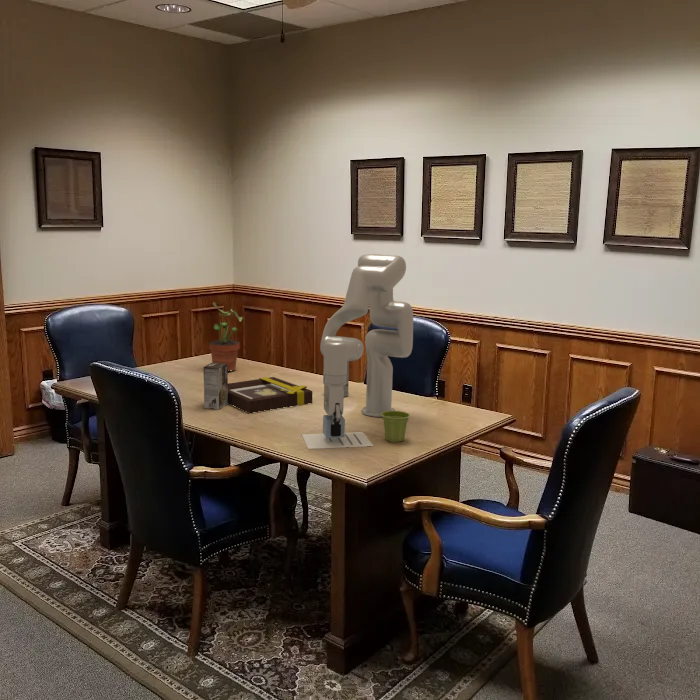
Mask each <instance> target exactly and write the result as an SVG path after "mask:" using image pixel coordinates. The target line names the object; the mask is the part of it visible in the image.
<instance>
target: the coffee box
mask: <svg viewBox="0 0 700 700" xmlns="http://www.w3.org/2000/svg"><path fill="white" fill-rule="evenodd" d="M228 373H229V371H228V370H227V363H218V362H210V363H208V364H206V365H204V366H203V409H205V408H214V409H213V410H217V409H219V410H221V409H222V408H224V407H225V406H227V405H228V404H227V403H228V383H229V382H228V381H229V380H228V379H229V378H228V377H229V375H228ZM226 404H227V405H226ZM224 405H225V406H224ZM223 406H224V407H223ZM221 407H222V408H221ZM220 408H221V409H220Z"/></svg>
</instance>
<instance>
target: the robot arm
mask: <svg viewBox="0 0 700 700" xmlns="http://www.w3.org/2000/svg"><path fill="white" fill-rule="evenodd" d="M406 269H407V262H406V260H405V259H404V258H403V256H401V255H392V254H391V255H390V254H378V253H377V254H376V253H375V254H374V253H368V254H363V255H361V256H359V258H358V259H357V266H356V267H355V268H354V269H352V271H351V274H350V277H349V278H350V279H349V283H348V287H347V290H346V293H345V294H346V295H345V299H344V303H343V305H342V306H341V307H340V308H339V309H338V310H337V311H336V312H334V314H332V316H331V317H330V318H329V319H328V321H327V322H326V323H325V326H324V329H323V331H322V336H321V339H320V345H319V346H320V347H319V349H320V353H321V355H322V356H323V374H322V375H323V377H322V379H323V382H322V383H323V385H324V384H325V393H324V392H323V410H324V412H325V414H326V415H329V416H330V415H332V424H331V436H341V415H342V416H343V414H344V406H345V405H344V400H345V399H344V398H345V397H344V391H343V385H346V384H347V361H349V362H355V361H357V360H359V359H361V357H362V356H363V355H364V351H365V350H366V363H367V364H366V366H367V367H366V394H365V396H366V398H365V399H366V400H365V406H364V407H361V413H362V414H363V415H365V416H369V417H374V418H375V417H376V418H383V417H382V415H381V413H383V412H386V411H396V409H395V408H393V407H392V404H393V403H392V399H393V398H392V396H393V374H394V373H393V372H394V370H393V369H394V368H393V364H392V362H391V359H390V358H389V357H393V358H402V359H403V358H408V357H409V356H411V354H412V352H413V351H412V350H413V343H414V311H413V307H412V305H411V304H410V303H408V302H405V301H397V300H394V288H395V286H396V285H398V284H399V283H400V282H401V281H402V279H403V278H404V276H405V274H406V272H407V271H406ZM368 312H369V320H370V322H371V323H372V325H373V326H378V327H384V328H385V327H386V328H395V329H397V330H390V329H383V328H377V329H372V330H370V331H368V332H367V334H366V335H365V339H364V340H365V341H364V343H365V347H364V344H363V342H362V341H361V340H360V339H358V338H355V337H349V336H348V337H347V336H339V335H337V332H338V331H339V329H340V328H341V327H342V326H343V325H345V324H347V323H348V322H351V321H353V320H356V319H360V318H361V317H363V316H365V315H367V314H368ZM364 349H365V350H364ZM334 417H336V418H335V419H334Z"/></svg>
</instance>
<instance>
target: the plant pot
mask: <svg viewBox="0 0 700 700" xmlns="http://www.w3.org/2000/svg"><path fill="white" fill-rule="evenodd" d="M381 415H382V417H381V418H382V420H383V428H384V436H385V437H384V439H385V440H386V441H388V442H392V443H399V442H403V441H405V434H406V430H407V425H408V421H409V418H410V417H411V414H409V413H408V412H405V411H400V410H395V411H386V412H383V413H381Z"/></svg>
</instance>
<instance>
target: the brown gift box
mask: <svg viewBox="0 0 700 700" xmlns="http://www.w3.org/2000/svg"><path fill="white" fill-rule="evenodd" d="M307 387H308V386H306V385H297V384H295V383H291V382H290V381H289V382H288V381H286V380H283V379H280V378H278V377H275V376H272V377H267V376H266V377H259V378H257V379H256V378H255V379H251V380H243V381H238V382H231V383H230V382H228V403H229V404H231V405H234V406H236V407H238V408H240V409H242V410H244V411H243V412H245V411H247V412H249V413H251V414H254V413H253V412H257V413H259V412H258V411H263V412H265V411H264V410H269V411H271V410H270V409H275V410H278V409H277V408H281V409H284V408H283V407H287V408H291V407H290V406H293V407H297V406H296V405H299V406H304V405H303V404H305V405H309V404H308V403H311V404H313V390H311V389H308V388H307ZM229 404H228V405H229ZM231 405H230V406H231ZM234 406H233V407H234ZM236 407H235V408H236ZM238 408H237V409H238ZM240 409H239V410H240ZM242 410H241V411H242ZM247 412H246V413H247ZM249 413H248V414H249Z"/></svg>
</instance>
